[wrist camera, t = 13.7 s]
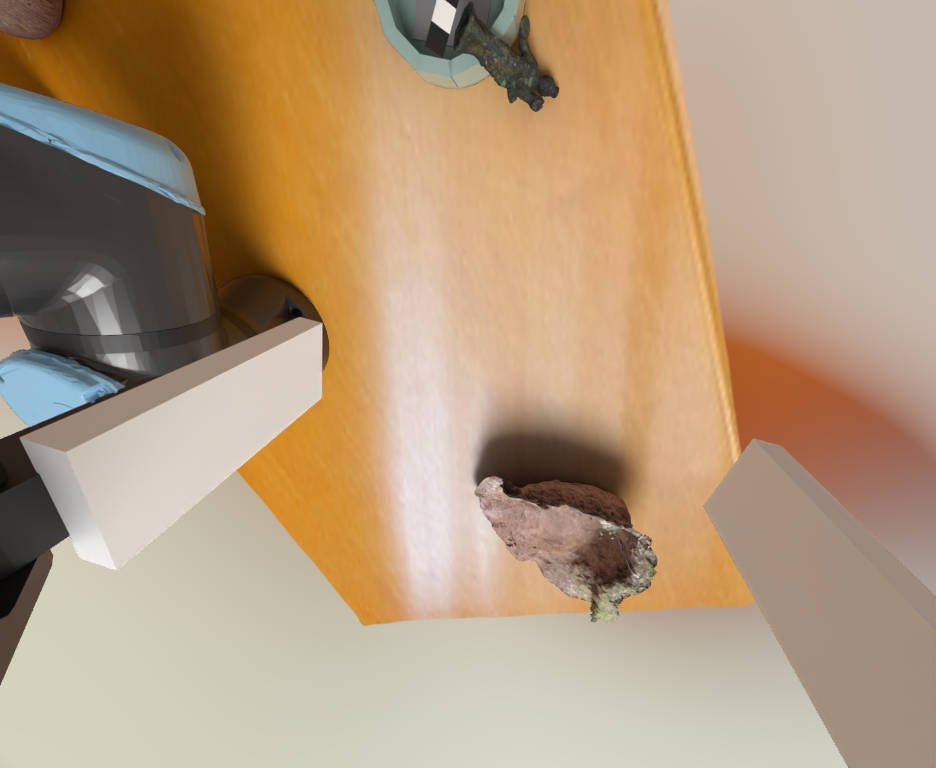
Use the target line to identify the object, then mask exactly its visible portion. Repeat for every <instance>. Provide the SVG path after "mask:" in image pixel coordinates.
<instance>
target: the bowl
mask: <svg viewBox="0 0 936 768" xmlns="http://www.w3.org/2000/svg"><path fill="white" fill-rule="evenodd" d="M470 1H472V2H473V4H474V11H475V14H476V16H477V17H478V19H480V20H481V21H482V22H483V23H484V24H485V25H486V26H487V27H488V28H489V29H490V31H491V32H492V33H493V34H494V35H495V36H496V37H497V38H499V39H501V40H503V41H504V42H505V43H507V44H508V45H509V46H510V47H512V45H513V43H514V41H515V39H516V38H517V34H518V32H519V24H520V22H521V18H522V17H523V13H524V6H525V0H459V2H458V5H457V9H456V13H455V16H454V20H453V23H452V27H451V31H450V34H449V38H448V42H447V45H446V49H445V52H444V56H443V58H441V57H439V56H438V55H437V54H435V53H434V52H432V51H431V50H429V49H428V48H427V47H425V43H426V39H427V35H428V31H429V27H430V23H431V19H432V16H433V12H434V8H435V4H436V0H374V2H375V6H376V9H377V12H378V15H379V18H380V21H381V24H382V28H383V31H384V34H385V37H386V39H387V40H388V41H389V43H390V44H391V45H392V46H393V47H394V48H395V49H396V50H397V52H398V53H399V54H400V55H401V56H402V57H403V58H404V59H405V60H406V61H407V62H408V64H409V65H410V66H411V67H412V68H413V69H414V70H415V71H416V72H417V73H418V74H419V75H420V76H421V77H422V78H423V80H424V81H425V82H427V83H432V84H434V85H436V86H439V87H443V88H448V89H461V88H465V87H469V86H472V85H474V84H477V83H479V82H480V81H482V80H484V79H485V78H486V77H488V76H489V75H490V74H489V73H488V72H487V71H486V70H485V69H484V66H481V65H480V63H479V61H478V60H477V59H476V58H475V56H472V55H470V54H465V53H456V52H455V51H454V49H453V44H454V34H455V30H456V28H457V26H458V23H459V20H460V19H461V16H462V13H463V10H464V8H465V7H466V5H467V4H468V2H470Z"/></svg>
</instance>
